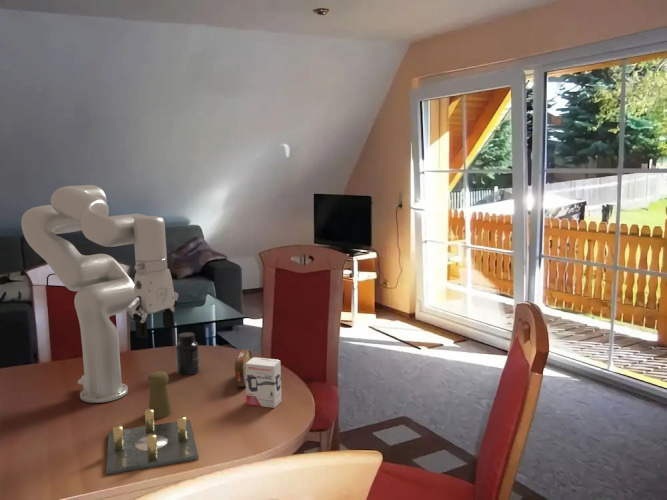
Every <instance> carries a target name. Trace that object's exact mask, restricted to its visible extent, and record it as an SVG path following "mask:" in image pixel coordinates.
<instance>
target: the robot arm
mask: <svg viewBox="0 0 667 500" xmlns="http://www.w3.org/2000/svg"><path fill="white" fill-rule="evenodd" d="M107 203H108V200H107V196H106V193H105V192H104V190H103V189H102V188H101V187H99V186H97V185H94V184H85V185H84V184H82V185H66V186H63V187H60V188H57V189H56V190H55V191H54V192H53V193H52V195H51V198H50V204H47V205H40V206H35V207H32V208H29V209H28V210H26V211H25V212H24V213H23V215H22V217H21V222H20V224H21V230H22V234H23V236H24V238H25V241H26V242H27V244H28V245H29V247H30V248H31V249H32V250H33V251H34V252H35V253H36V254H38V255H39V257H41V259H43V260H44V261H45V262H46V263H47V265H48V266H49V268H50V269H51V270H52V271H53V273H54V275H56V277H57V278H58V279H59V281H60V282H61V283H62V284H63V285H64V286H65V288H67V289H68V290H69V291H72V292H76V294H75V296H74V308H75V311H76V315H77V319H78V322H79V323H78V324H79V328H80V337H81V338H80V339H81V347H82V348H81V349H82V363H83V372H84V374H83V375H82V376H81V377H80V379H78V380H77V384H78V385H82V387H83V388H82V390H81V391H80V392H79V398H80V400H81V401H83V402H85V403H90V404H99V403H107V402H112V401H115V400H119V399H121V398H123V397H124V396H126V395H127V394H128V392H129V388H128V386H127V384H125V383H122V381H123V380H122V368H121V356H120V339H119V332H118V329H117V327H116V325H115V324H114V323H113V322H112V320H111V319H110V317H112V316H115V315H118V314H122V313H126V312H127V313H128V315H129V318H131V320H132V321H133V322H134V325H135V335H136V338H142V339H147V338H148V336H149V335H148V322H147V321H146V319H147V317H148V315H150V314H151V315H152V314H155V313H160V312H162V324H163V325H162V326H163V327H164V328H170V329H173V328H175V314H174V313H175V311H176V306H177V304H178V299H179V293H178V292H176V291H175V289H174V282H173V279H172V274H171V271H170V268H168V255H167V241H166V236H167V235H166V225H165V220H164V218H163V217H161V216H156V215H147V214H142V213H130V214H129V213H128V214H121V215H111V216H109V214H110V213H109V212H110V211H109V209H110V208H109V205H108V204H107ZM79 231H81V232H82V234H83V235H84V237H85V238H86V239H88V240H89V241H91V242H93V243H95V244H97V245H100V246H102V247H106V248H109V247H110V248H112V247H115V248H116V247H118V246H119V247H120V246H124V245H126V246H127V245H132V244H133V245H134V255H135V256H134V257H135V258H134V259H135V260H134V261H135V265H134V270H135V272H136V273H135V275H134V281H133V279H132V278H131V277H130V276H129V275H128V273H127V272H126V271H125V270H124V268H123V267H122V266H121V265H120V263H119V262H118V261H117V260H116V259H115V258H114V257H113V256H111V255H109V254H106V253H96V254H91V255H90V254H89V255H84V254H81V252H79V250H78V249H77V248H76V246H75V245H73V243H71V242H70V241H69V240H67V239H64V238H63V237H61V236H58V235H59V234H68V233H74V232H75V233H76V232H79Z"/></svg>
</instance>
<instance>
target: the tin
mask: <svg viewBox="0 0 667 500" xmlns="http://www.w3.org/2000/svg"><path fill="white" fill-rule="evenodd" d="M252 358H253V356H252V353H251V350H250V349H244V350H240V351H239V353H238V355H237V357H236V358H235V359H236V360H235V363H234V373H235V382H236V386H237V387H240V388H241V387H246V363H247V362H248V361H249V360H250V359H252Z"/></svg>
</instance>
